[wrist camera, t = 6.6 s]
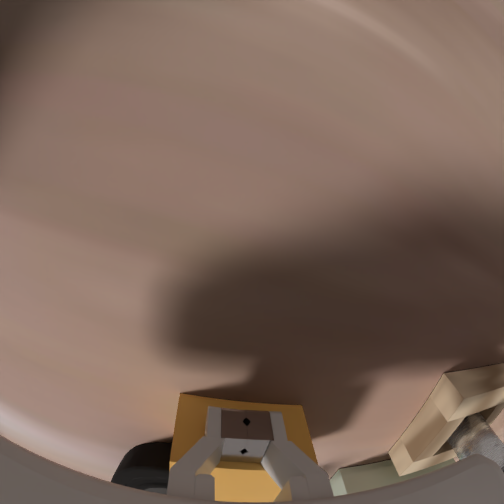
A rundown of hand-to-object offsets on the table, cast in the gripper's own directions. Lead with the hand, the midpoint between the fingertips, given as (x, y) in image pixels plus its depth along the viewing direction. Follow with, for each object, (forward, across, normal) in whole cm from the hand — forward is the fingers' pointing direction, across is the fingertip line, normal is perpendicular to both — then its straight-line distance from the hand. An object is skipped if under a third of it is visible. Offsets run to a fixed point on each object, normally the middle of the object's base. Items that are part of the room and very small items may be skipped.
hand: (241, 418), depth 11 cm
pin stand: (+2, -16, +3) cm, 16 cm away
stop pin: (+2, -16, +3) cm, 16 cm away
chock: (+2, 0, +3) cm, 3 cm away
